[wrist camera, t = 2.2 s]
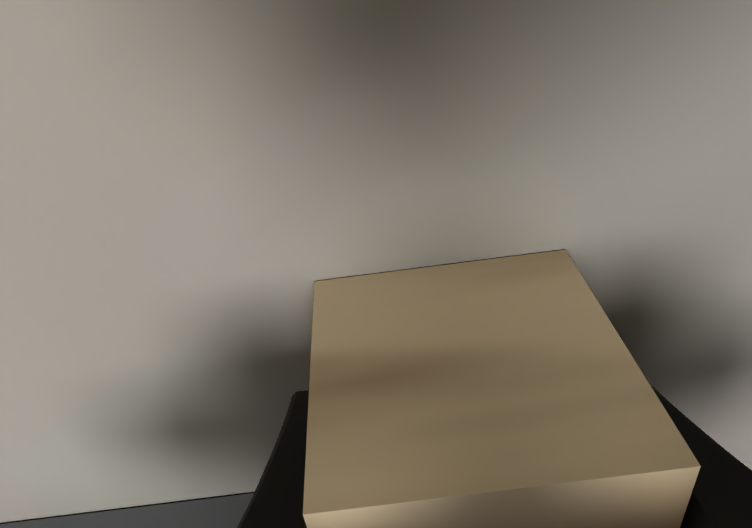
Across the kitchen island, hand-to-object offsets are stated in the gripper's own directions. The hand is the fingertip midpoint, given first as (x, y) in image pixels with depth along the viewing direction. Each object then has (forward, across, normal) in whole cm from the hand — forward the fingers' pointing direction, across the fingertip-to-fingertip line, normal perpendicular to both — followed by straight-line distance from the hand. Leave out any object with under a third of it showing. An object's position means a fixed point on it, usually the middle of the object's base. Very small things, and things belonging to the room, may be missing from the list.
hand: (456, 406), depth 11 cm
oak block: (+1, 0, 0) cm, 1 cm away
